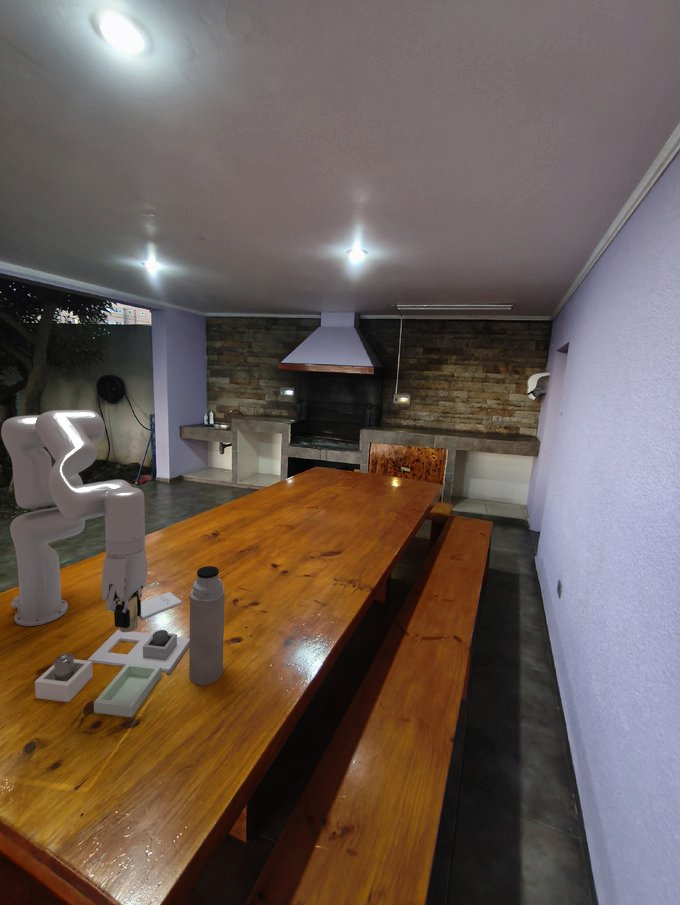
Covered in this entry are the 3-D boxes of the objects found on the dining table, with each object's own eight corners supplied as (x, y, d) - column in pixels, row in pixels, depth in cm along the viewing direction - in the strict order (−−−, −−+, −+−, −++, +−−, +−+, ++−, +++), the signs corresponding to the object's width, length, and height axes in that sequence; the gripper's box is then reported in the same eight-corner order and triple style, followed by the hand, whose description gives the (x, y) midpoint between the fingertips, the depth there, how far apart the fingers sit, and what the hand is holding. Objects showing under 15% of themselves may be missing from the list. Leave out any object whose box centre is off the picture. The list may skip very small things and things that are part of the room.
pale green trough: (94, 715, 84) (93, 702, 83) (127, 674, 96) (127, 662, 95) (132, 720, 83) (131, 707, 83) (161, 678, 95) (161, 666, 95)
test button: (149, 651, 101) (149, 638, 100) (157, 642, 104) (157, 629, 103) (163, 653, 100) (163, 639, 100) (170, 644, 104) (170, 630, 103)
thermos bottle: (195, 660, 102) (196, 561, 97) (226, 662, 102) (228, 563, 97) (184, 684, 94) (185, 577, 89) (217, 685, 94) (220, 579, 89)
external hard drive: (130, 610, 122) (169, 595, 131) (142, 621, 117) (181, 605, 126) (130, 605, 121) (169, 591, 131) (142, 617, 116) (181, 600, 126)
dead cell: (51, 691, 88) (49, 660, 86) (63, 679, 91) (62, 649, 90) (67, 693, 88) (65, 662, 86) (78, 681, 91) (77, 651, 90)
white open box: (36, 701, 86) (34, 681, 85) (62, 675, 94) (61, 657, 93) (69, 705, 86) (68, 685, 85) (92, 679, 93) (92, 661, 92)
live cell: (116, 631, 87) (114, 598, 85) (125, 621, 90) (124, 590, 89) (131, 633, 86) (130, 600, 85) (140, 623, 90) (140, 591, 89)
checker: (87, 664, 98) (87, 648, 97) (117, 634, 109) (117, 620, 109) (169, 674, 97) (169, 658, 96) (190, 642, 108) (190, 628, 108)
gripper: (131, 529, 93) (133, 599, 96) (82, 559, 77) (86, 643, 80) (161, 531, 93) (162, 602, 96) (119, 562, 76) (122, 646, 80)
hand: (128, 620), depth 88 cm, fingers closed on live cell, 3 cm apart
